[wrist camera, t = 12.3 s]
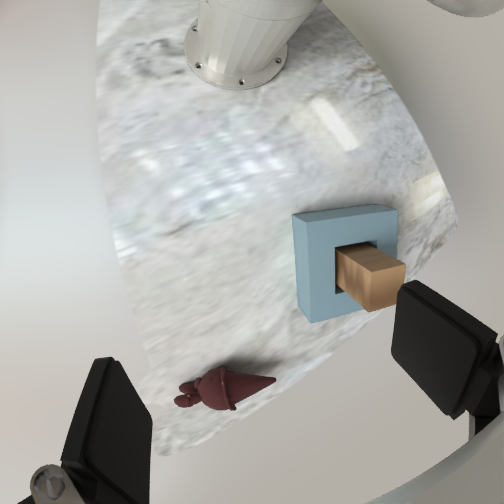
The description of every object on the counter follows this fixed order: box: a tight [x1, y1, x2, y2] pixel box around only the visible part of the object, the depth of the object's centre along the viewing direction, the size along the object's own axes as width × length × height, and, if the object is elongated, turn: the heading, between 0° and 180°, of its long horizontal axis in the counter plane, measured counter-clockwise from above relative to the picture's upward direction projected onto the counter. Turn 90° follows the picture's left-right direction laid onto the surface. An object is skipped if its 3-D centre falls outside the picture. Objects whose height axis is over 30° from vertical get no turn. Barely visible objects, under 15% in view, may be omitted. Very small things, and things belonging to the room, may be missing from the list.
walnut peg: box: [335, 242, 406, 312], centre depth 33 cm, size 5×5×12 cm
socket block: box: [292, 204, 398, 323], centre depth 36 cm, size 13×13×5 cm
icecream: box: [174, 366, 276, 411], centre depth 38 cm, size 7×7×15 cm
